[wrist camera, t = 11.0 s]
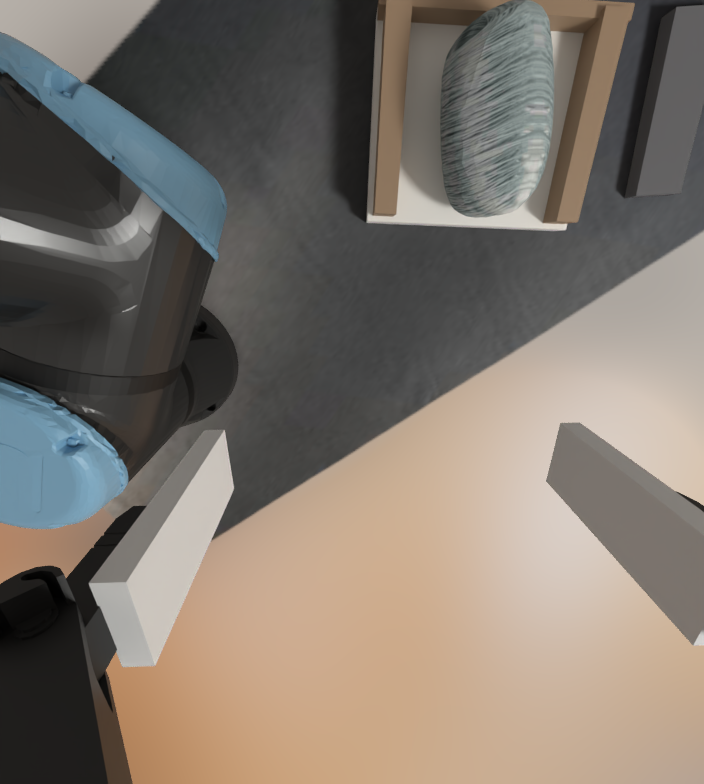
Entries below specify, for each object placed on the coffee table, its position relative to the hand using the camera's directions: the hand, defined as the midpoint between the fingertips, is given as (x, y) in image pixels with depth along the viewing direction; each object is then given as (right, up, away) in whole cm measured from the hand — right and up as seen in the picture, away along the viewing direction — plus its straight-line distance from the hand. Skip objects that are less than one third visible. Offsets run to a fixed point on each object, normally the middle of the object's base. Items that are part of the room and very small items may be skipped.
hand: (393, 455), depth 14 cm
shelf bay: (+10, +27, +20) cm, 35 cm away
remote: (+28, +29, +20) cm, 45 cm away
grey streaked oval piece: (+10, +26, +18) cm, 33 cm away
